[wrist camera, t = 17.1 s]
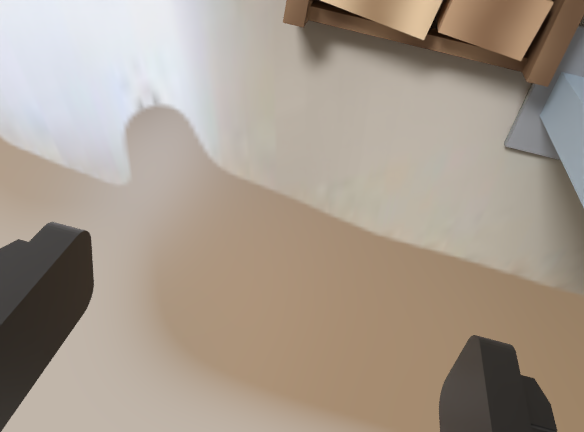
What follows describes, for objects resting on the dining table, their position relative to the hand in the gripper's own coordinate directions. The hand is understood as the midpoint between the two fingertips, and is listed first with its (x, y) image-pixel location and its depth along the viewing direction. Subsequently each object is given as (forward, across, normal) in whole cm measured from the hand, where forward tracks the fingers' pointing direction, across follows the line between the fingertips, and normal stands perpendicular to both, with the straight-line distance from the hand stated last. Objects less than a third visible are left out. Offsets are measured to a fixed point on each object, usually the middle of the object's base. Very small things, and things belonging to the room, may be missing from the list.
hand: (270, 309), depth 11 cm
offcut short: (+34, -9, 0) cm, 35 cm away
